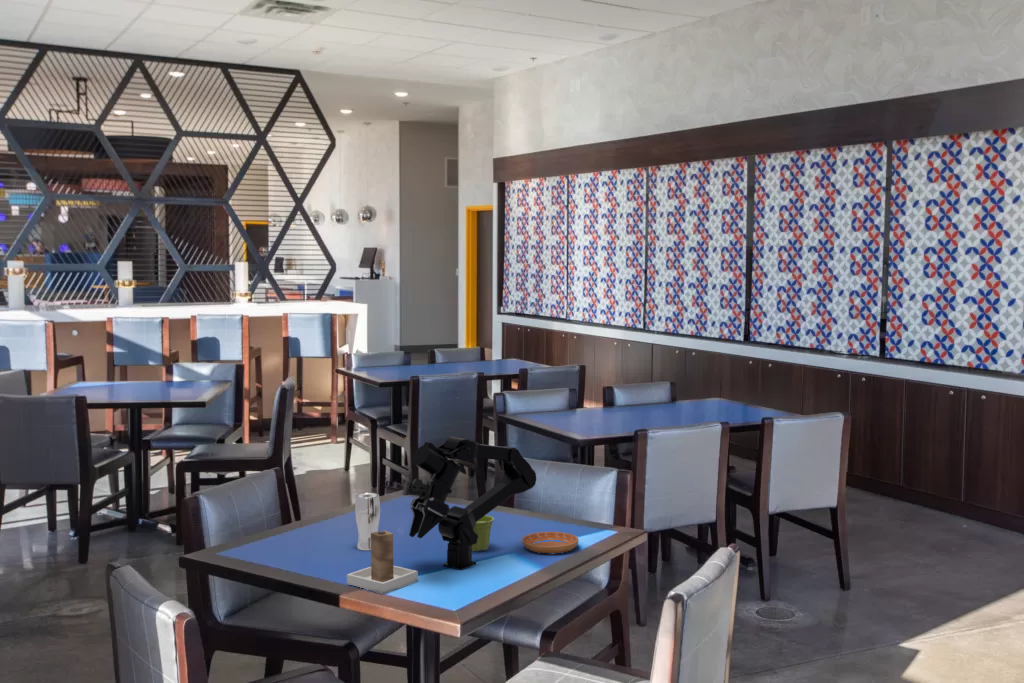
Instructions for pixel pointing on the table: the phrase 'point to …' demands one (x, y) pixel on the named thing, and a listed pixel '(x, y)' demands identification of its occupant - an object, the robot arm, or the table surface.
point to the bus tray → (364, 581)
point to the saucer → (550, 542)
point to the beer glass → (367, 518)
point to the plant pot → (482, 533)
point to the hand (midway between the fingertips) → (414, 537)
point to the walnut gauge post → (382, 556)
